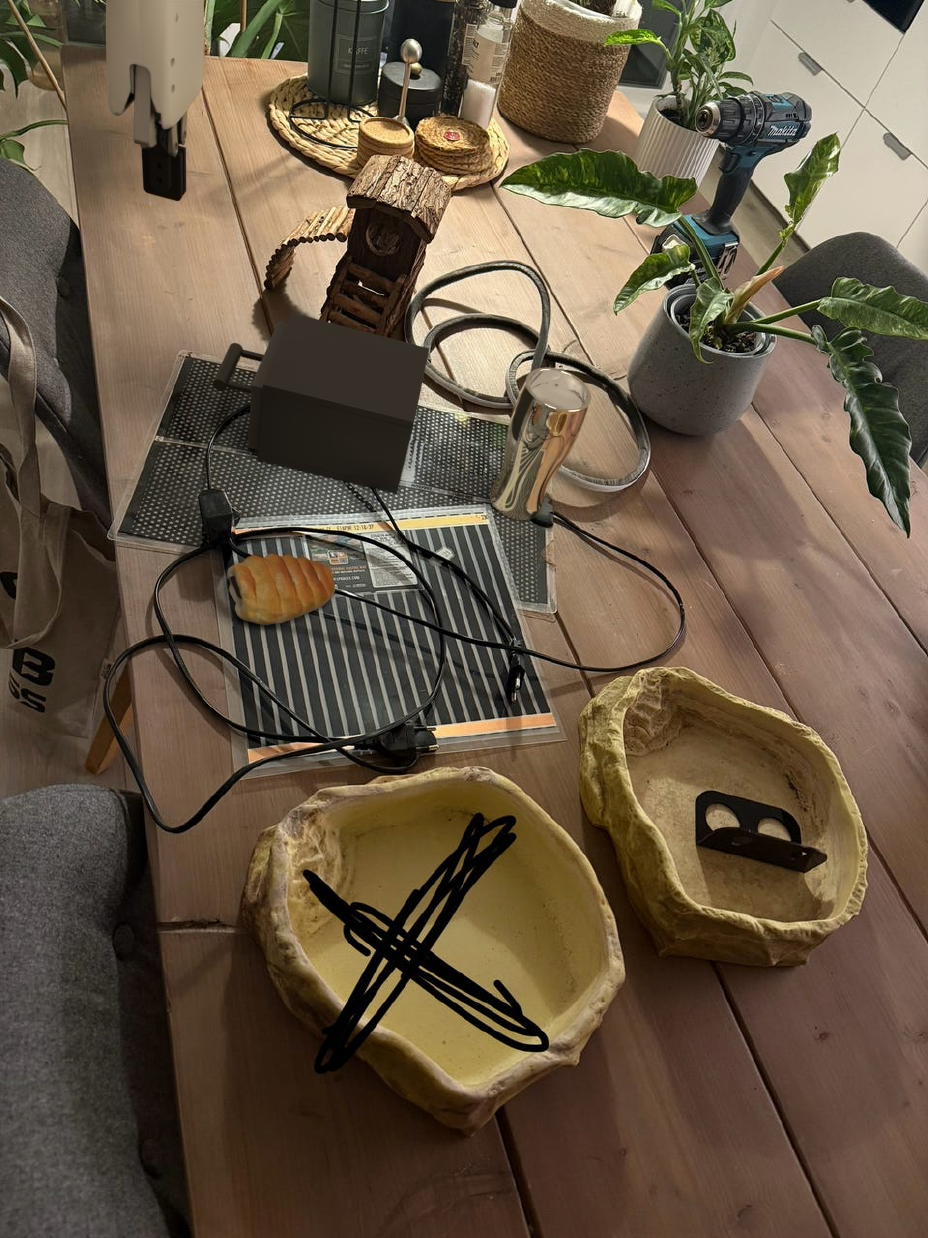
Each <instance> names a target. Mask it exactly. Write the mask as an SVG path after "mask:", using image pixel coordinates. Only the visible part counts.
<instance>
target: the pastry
mask: <svg viewBox="0 0 928 1238" xmlns="http://www.w3.org/2000/svg"><path fill="white" fill-rule="evenodd" d="M226 577H227V579H228V580H229V587H228V589H229V590H228V591H229V593H230V595H231V597H232V600H233V602H234V603H235V605H234V611H235V613H236V616H237V617H238V618H240V619H241V620H243V621H246V622H250V623H253V624H256V625H261V626H269V625H273V624H284V623H285V622H287V621H292V620H293V619H297V618H300V617H302V616H304V615H306V614H309V613H311V612H314V611H316V610H318V609H320V608H322V607H323V606H325V605H326V603H328V601H330V600H331V599H332V597H333V596H334V594H335V592H336V589H335V587H336V582H335V579H334V572H333V570H332V568H331V567H329V566H327V565H325V564H323V563H321V562H319V561H315V560H312V559H309V558H308V557H306V556H302V557H295V556H293V555H292V554H285V555H279V554H275V553H268V554H266V555H265V556H264V557H260V556H258V555H255V554H253V555H249V556H247V557H246V558H245V559H244V560H243V561H242V562H237V563H234V564H233V565H231V566H230V567H228V569H227V572H226Z"/></svg>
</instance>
